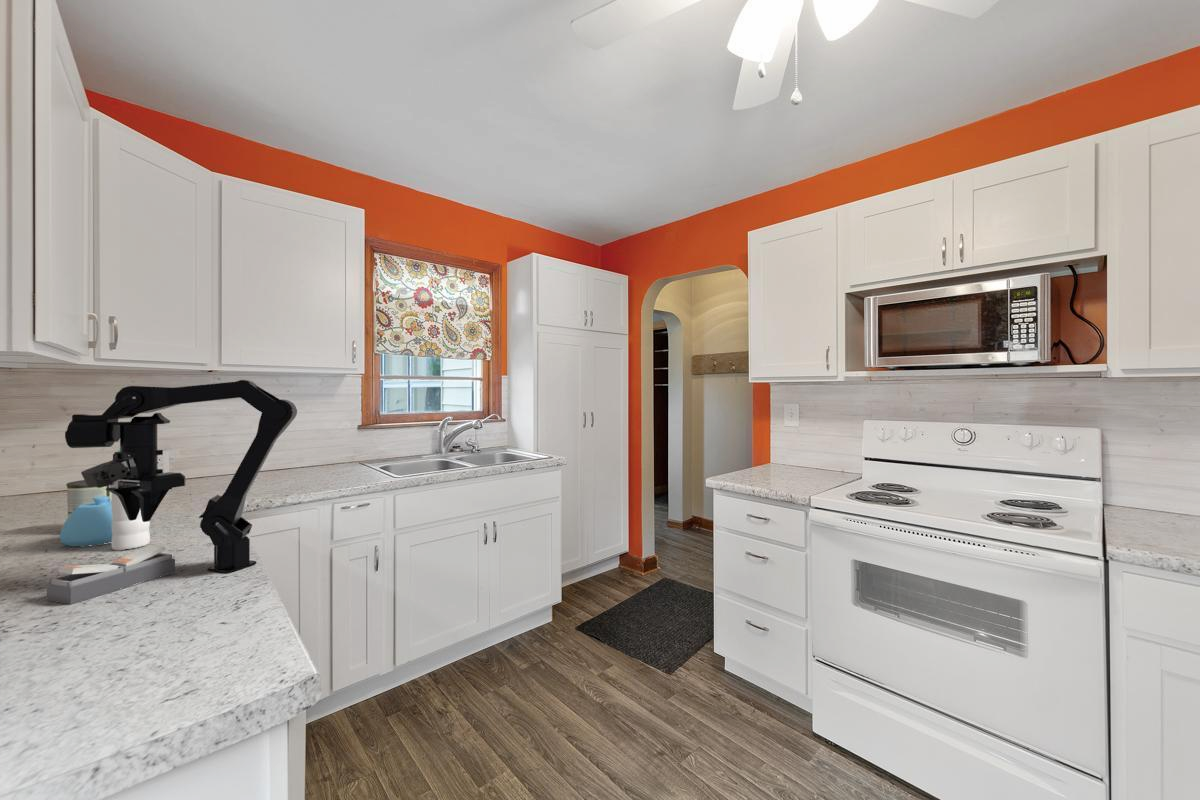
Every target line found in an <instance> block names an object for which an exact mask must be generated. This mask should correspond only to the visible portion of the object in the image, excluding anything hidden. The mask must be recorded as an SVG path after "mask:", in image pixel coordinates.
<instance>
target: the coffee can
mask: <svg viewBox="0 0 1200 800" xmlns="http://www.w3.org/2000/svg"><path fill="white" fill-rule="evenodd" d="M66 487H67V488H66V490H67V492H66V493H67V494H66V497H67V498H66V499H67V501H66V502H67V518H68V517H69V516H70V515H71V513H72V512H73V511H74V510H75V509H76V508H77V507H78V506H80V505H84V504H89V503H95V501H94V499H93V498H96V497H103V496H108V497H109V500H108V501H111V497H112V492H110V491H107V490H106V488H110V485H108V486H105V487H101V488H97V487H94V486H92V487H88V486H87V484H86V482H85V480H84V479H81V480H76V481H71V482H67V483H66Z"/></svg>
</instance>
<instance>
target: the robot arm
mask: <svg viewBox="0 0 1200 800" xmlns="http://www.w3.org/2000/svg"><path fill="white" fill-rule="evenodd" d="M230 399H231V400H232V399H241V400H243V401H244V402H246V403H247V404H248V405H250V406H251V407H253V408H254V409H256V410H257V411H259V412H261V415H260V418H259V421H258V426H257V432H256V435H255V437H254V439H253V440H252V442H251V444H250V446H249V448H248V449H247V452H245V454H244V456H243V458H242V460H241V462H240V464H239V466H238V468H237V470H236V471H235V473H234V474H233V477H232V479H231V480H230V482H229V484H228V486H227V488H226V490H225V491H224V493H223V494H222V495H219V494H216V495H215V496H213V497H211V498H210V499H209V500H208V501H207V504H206V507H205V509H204V512H202V514H200V515H199V516H198V519H201V521H200V524H199V527H200V528H201V532H203V534H204V535H205V536H208V537H209V539H210V540H211V542H212V545H213V546H214V547H213V564H214V565H212V566H208V567H207V571H212V572H219V573H227V574H228V573H232V572H235V571H238V570H241V569H244V568H247V567H250V566H253V565H255V564H257V561H256V560H250V557H251V556H250V553H251V551H250V548H251V547H250V546H251V545H250V542H251V541H250V538H249V536H248V535H249V534H250V532H251V530H252V527H253V524H252V523H250V521H248V520H246V519H245V518H244V517H243V516H242V515H243V512H244V508H245V504H246V503H245V502H246V498H247V495H248V493H249V491H250V490H251V487H252V485H253V483H254V482H255V479H256V478H257V476H258V475H259V472H260V470H261V469H262V467H263V465H264V464H265V462H266V459H267V458H268V456H269V454H270V452H271V451H272V449H273V447H274V445H275V443H276V442H277V440H278V438H279V437H280V436H281V435H282V434H283V433H284V432H285V431H286V430H287V428H288V427H289V426H290V425H291V424H292V422H293V421H294V420H295V418H296V417H297V414H298V409H297V406H296V405H295V403H293V402H292V401H291V400H288V399H280V398H278V397H277V396H275V395H273V394H272V393H270V392H269V391H266V390H265V389H263V388H261V387H259V386H258V385H257V384H256V383H255V382H254V381H252V380H249V379H248V380H247V379H240V380H236V381H231V382H230V381H229V382H227V381H226V382H219V383H218V382H217V383H209V384H208V383H207V384H199V385H198V384H196V385H187V386H178V387H170V386H169V387H168V386H167V387H166V386H145V385H144V386H143V385H142V386H141V385H128V386H124V387H122V388H121V389H120V390H119V391H118V392H117V393H116V395H115V397H114V402H113V403H112V404H111V405H110V406H109V407H108V408H107V409H106V410H104V412H103V413H102V414H86V413H85V414H84V413H75V414H74V413H73V414H72V415H71V421H69V423H68V426H67V428H66V430H65V432H64V439H65V442H66V444H67V446H68V447H69V448H70V449H87V448H88V449H89V448H109V447H112V446H113V445H114V444H115V443H117V442H119V450H120V452H118V451H115V452H114V453H113V454H112V460H109V461H107V462H103V463H100V464H98V465H94V466H93V467H89V468H88V469H84V470H82V471H81V472H80V475H81V476H82V478H83V480H85V482H86V484H87V486H88V487H92V486H94V487H97V488H101V487H105V486H108V485H110V488H106V490H107V491H110V492H112V493H113V494H115V495H117V496H118V498H119V499H120V501H121V503H122V506H123V508H124V510H125V512H126V515H127V517H128V519H129V520H130V521H132V520H136V518H137V516H138V513H139V510H141V517H142V521H143V522H147V521H150V522H151V520H152V518H153V516H154V515H155V513H156V511H157V509H158V507H159V506H160V504H161V502H162V501H163V500H164V498H165V497H166V495H167V494H168V492H169V491H170V490H172V489H173V488H178V487H179V488H180V487H184V486H186V475H184V474H182V473H181V472H172V471H169V472H168V471H167V472H164V468H163V469H162V468H158V467H159V466H158V461H159V460H158V456H163V455H164V454H163V452H164V450H163V449H158V425H166V424H167V425H168V424H170V423H171V420H170V419H168V418H167V417H165V416H164V415H163V414H162V412H157V411H162V410H166V409H169V408H172V407H173V408H174V407H176V406H180V405H184V404H194V403H202V402H203V403H204V402H212V401H222V400H223V401H224V400H230ZM154 412H155V413H154ZM149 413H150V414H151V413H153V415H151V416H149V415H148V416H137V415H140V414H149ZM119 419H131V420H130V421H119Z"/></svg>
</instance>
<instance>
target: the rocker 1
mask: <svg viewBox="0 0 1200 800" xmlns="http://www.w3.org/2000/svg"><path fill="white" fill-rule="evenodd" d="M110 564H111V563H98V564H80V565H71V564H70V565H61V566H59V568H58V571H57V572H58V573H61V574H66V575H69V574H82V573H96V572H107V571H111V570H114V569H118V566H117V565H110Z"/></svg>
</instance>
